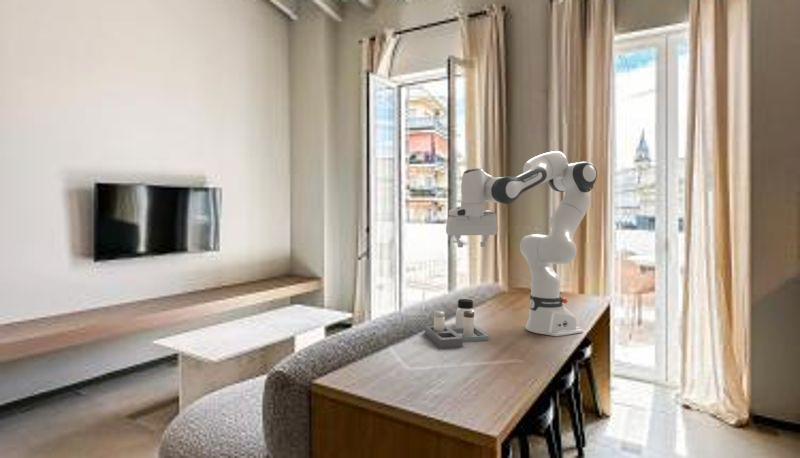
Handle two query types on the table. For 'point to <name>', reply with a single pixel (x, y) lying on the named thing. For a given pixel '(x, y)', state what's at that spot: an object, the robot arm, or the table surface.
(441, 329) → the dome-capped cream cylinder
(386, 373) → the table surface
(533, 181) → the robot arm
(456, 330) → the parts tray
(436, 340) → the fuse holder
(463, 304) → the medicine bottle
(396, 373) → the table surface
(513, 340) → the table surface
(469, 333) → the cylinder
